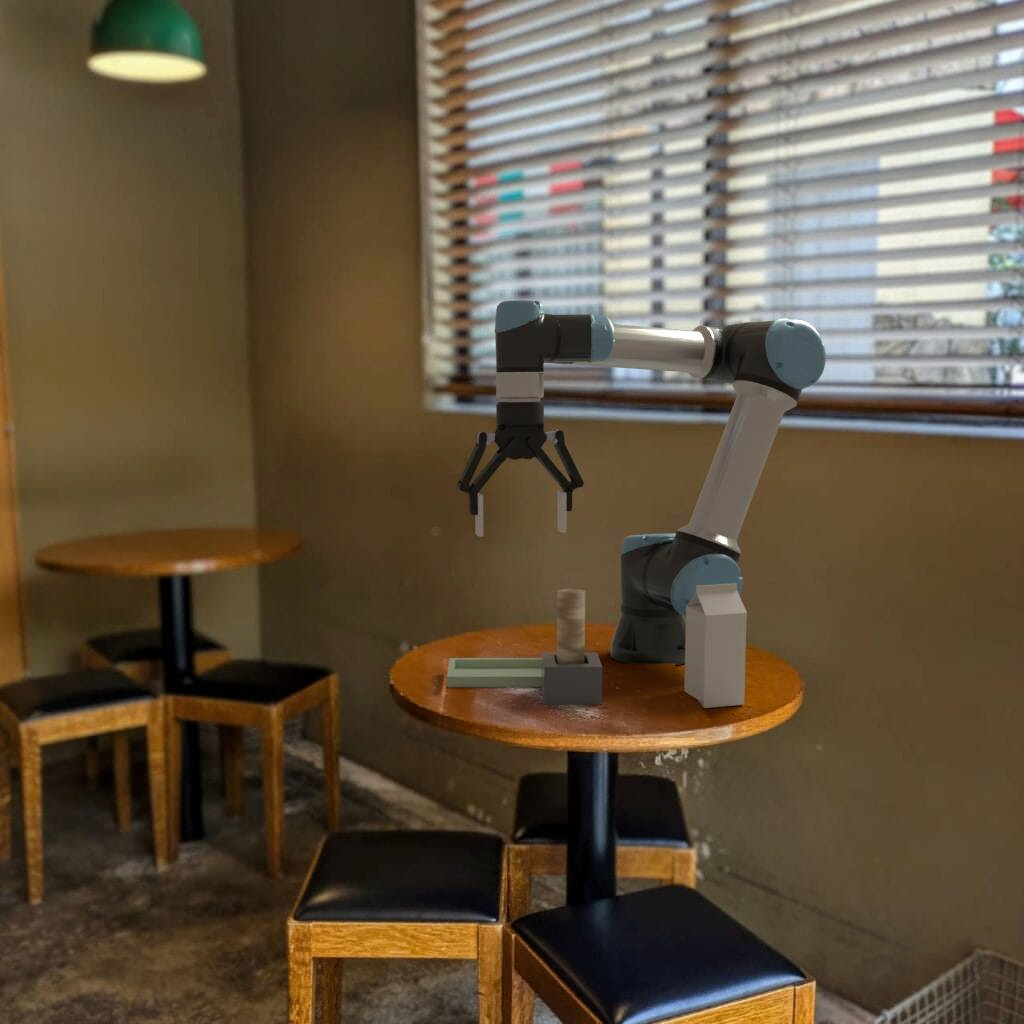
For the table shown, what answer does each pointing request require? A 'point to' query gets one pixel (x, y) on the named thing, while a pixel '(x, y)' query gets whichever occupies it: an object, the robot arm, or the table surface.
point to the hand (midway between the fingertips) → (521, 533)
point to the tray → (494, 672)
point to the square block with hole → (571, 681)
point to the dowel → (570, 626)
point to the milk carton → (715, 646)
